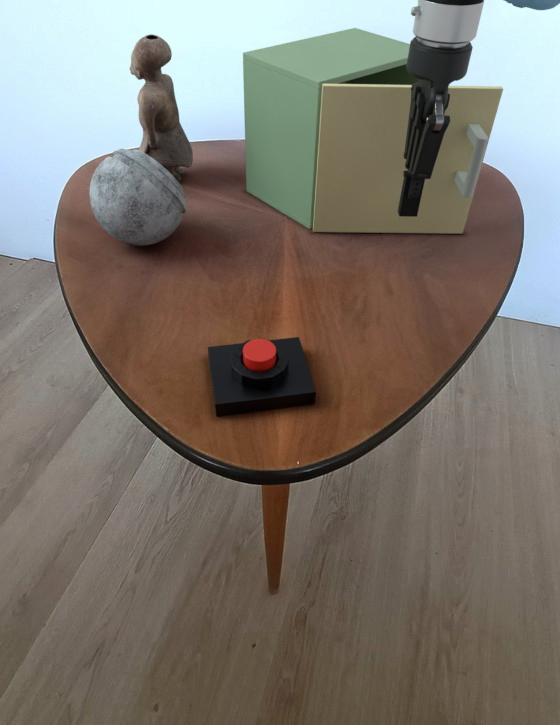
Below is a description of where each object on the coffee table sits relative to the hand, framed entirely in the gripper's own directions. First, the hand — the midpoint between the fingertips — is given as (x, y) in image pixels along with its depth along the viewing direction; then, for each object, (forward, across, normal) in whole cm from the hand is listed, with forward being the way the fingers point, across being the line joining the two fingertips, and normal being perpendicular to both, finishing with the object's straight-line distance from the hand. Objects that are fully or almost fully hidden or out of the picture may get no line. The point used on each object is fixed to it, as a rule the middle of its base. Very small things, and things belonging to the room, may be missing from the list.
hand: (407, 213), depth 84 cm
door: (+8, -6, 0) cm, 10 cm away
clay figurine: (+9, -28, -41) cm, 50 cm away
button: (+5, +27, -22) cm, 35 cm away
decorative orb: (+9, -6, -42) cm, 43 cm away
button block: (+8, +27, -22) cm, 36 cm away
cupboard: (+9, -25, -10) cm, 28 cm away
